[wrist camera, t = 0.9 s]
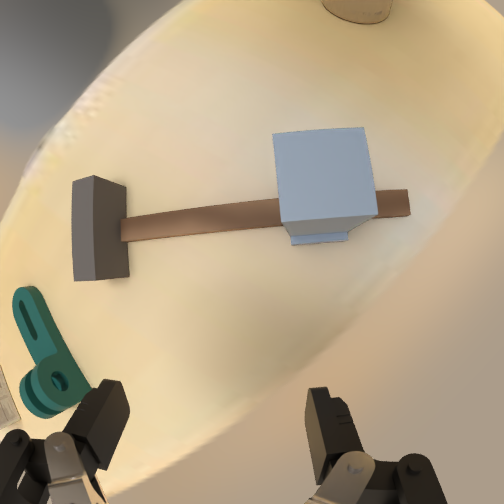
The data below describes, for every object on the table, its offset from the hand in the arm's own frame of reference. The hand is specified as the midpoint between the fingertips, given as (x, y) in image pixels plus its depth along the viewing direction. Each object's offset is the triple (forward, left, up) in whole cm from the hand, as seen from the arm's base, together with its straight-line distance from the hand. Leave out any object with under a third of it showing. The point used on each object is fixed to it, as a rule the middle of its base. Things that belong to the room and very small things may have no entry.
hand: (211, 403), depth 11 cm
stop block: (-10, -16, -17) cm, 25 cm away
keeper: (-10, +6, -17) cm, 21 cm away
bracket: (+4, -30, -18) cm, 35 cm away
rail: (-10, 0, -17) cm, 20 cm away
